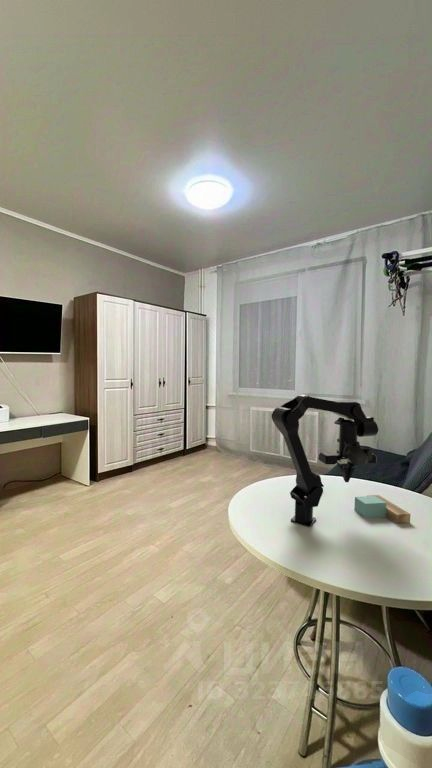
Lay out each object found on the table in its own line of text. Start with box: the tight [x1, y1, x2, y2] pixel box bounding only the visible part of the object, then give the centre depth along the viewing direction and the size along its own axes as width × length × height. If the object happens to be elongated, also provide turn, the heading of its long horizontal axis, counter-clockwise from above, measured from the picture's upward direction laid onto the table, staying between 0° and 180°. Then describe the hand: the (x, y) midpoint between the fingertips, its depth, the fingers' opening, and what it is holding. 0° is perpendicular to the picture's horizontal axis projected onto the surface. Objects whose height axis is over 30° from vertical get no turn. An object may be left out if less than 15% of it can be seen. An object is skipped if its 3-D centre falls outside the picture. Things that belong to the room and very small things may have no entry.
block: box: [353, 495, 387, 519], centre depth 113 cm, size 8×6×5 cm
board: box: [367, 494, 411, 525], centre depth 114 cm, size 5×16×3 cm, turn 9°
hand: (346, 482), depth 111 cm, fingers closed
